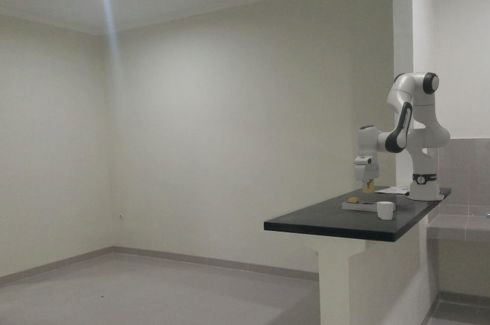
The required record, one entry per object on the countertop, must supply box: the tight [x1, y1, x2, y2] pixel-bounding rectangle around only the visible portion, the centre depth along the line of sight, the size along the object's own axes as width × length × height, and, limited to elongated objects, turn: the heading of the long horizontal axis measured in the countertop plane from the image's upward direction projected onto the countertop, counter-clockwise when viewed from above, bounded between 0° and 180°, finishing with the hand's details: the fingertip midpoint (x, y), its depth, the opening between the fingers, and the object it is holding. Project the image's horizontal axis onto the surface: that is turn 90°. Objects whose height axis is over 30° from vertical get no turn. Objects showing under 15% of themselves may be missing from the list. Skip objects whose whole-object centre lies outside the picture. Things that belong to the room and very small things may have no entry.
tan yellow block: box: [361, 181, 375, 194], centre depth 192 cm, size 4×4×5 cm
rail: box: [341, 200, 397, 213], centre depth 193 cm, size 8×23×4 cm, turn 50°
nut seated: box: [347, 196, 360, 204], centre depth 197 cm, size 4×4×5 cm
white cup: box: [376, 201, 394, 221], centre depth 173 cm, size 7×7×7 cm
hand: (368, 188), depth 192 cm, fingers closed on tan yellow block, 4 cm apart
